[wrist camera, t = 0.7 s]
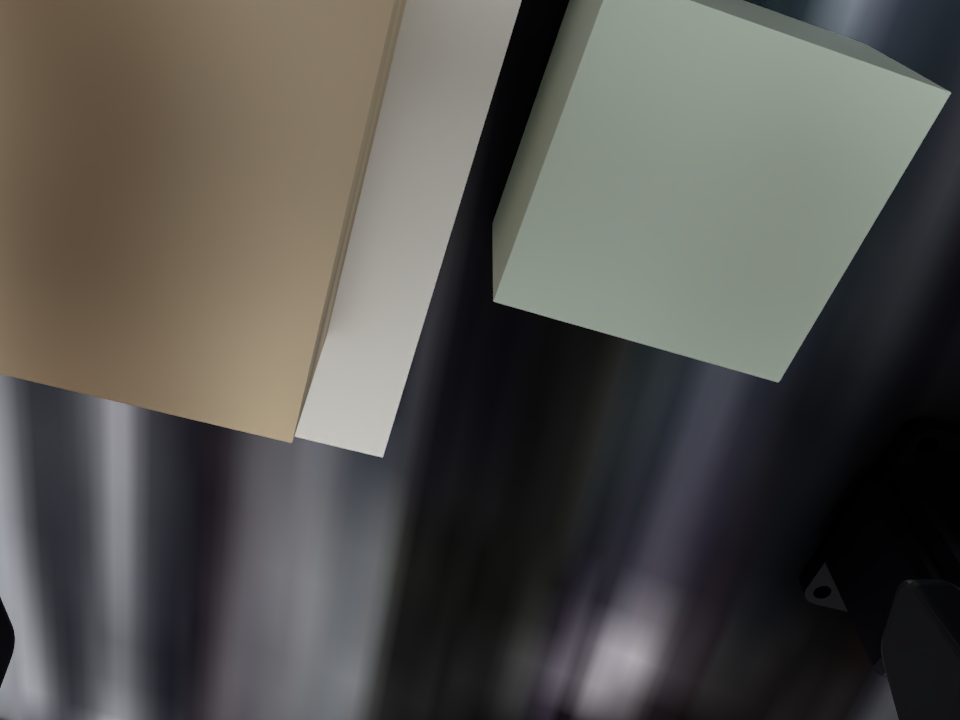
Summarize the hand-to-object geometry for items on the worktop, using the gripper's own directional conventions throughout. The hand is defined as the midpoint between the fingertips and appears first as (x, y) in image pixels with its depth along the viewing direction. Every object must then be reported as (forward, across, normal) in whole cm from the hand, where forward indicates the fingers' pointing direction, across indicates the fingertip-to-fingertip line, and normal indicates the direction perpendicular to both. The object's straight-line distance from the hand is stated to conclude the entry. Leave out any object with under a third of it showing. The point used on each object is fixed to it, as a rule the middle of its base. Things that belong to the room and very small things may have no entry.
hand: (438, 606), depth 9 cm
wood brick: (+11, +6, -2) cm, 12 cm away
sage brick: (+12, -4, -1) cm, 13 cm away
